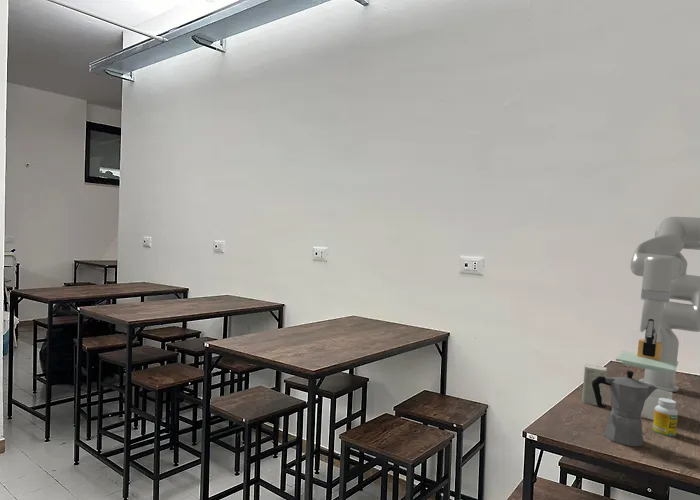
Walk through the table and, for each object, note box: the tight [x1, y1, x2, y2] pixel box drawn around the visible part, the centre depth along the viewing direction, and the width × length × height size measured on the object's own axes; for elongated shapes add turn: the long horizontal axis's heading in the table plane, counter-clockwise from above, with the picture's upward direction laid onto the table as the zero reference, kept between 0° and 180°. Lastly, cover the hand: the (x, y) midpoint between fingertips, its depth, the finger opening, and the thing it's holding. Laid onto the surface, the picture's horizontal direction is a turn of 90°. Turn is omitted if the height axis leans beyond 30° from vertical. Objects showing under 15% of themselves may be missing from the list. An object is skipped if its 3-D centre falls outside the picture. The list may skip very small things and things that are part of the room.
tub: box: [641, 389, 673, 421], centre depth 151 cm, size 12×14×7 cm
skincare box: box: [581, 364, 608, 407], centre depth 155 cm, size 6×4×12 cm
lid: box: [615, 338, 679, 373], centre depth 151 cm, size 13×15×7 cm
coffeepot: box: [592, 370, 657, 447], centre depth 130 cm, size 15×9×18 cm, turn 78°
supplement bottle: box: [652, 398, 679, 437], centre depth 135 cm, size 5×5×10 cm
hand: (649, 354), depth 155 cm, fingers closed on lid, 3 cm apart
